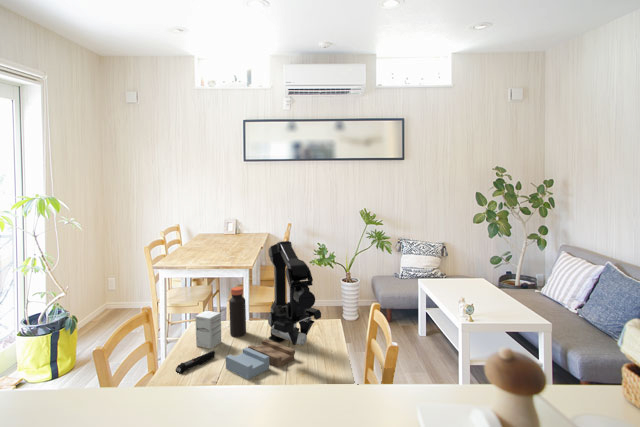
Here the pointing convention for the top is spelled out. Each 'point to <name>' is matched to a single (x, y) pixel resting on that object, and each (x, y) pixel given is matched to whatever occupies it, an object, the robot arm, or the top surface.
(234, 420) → the top surface
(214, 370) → the top surface
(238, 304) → the bottle
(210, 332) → the supplement box
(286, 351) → the beam
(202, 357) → the electric trimmer
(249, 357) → the cradle
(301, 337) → the axle
